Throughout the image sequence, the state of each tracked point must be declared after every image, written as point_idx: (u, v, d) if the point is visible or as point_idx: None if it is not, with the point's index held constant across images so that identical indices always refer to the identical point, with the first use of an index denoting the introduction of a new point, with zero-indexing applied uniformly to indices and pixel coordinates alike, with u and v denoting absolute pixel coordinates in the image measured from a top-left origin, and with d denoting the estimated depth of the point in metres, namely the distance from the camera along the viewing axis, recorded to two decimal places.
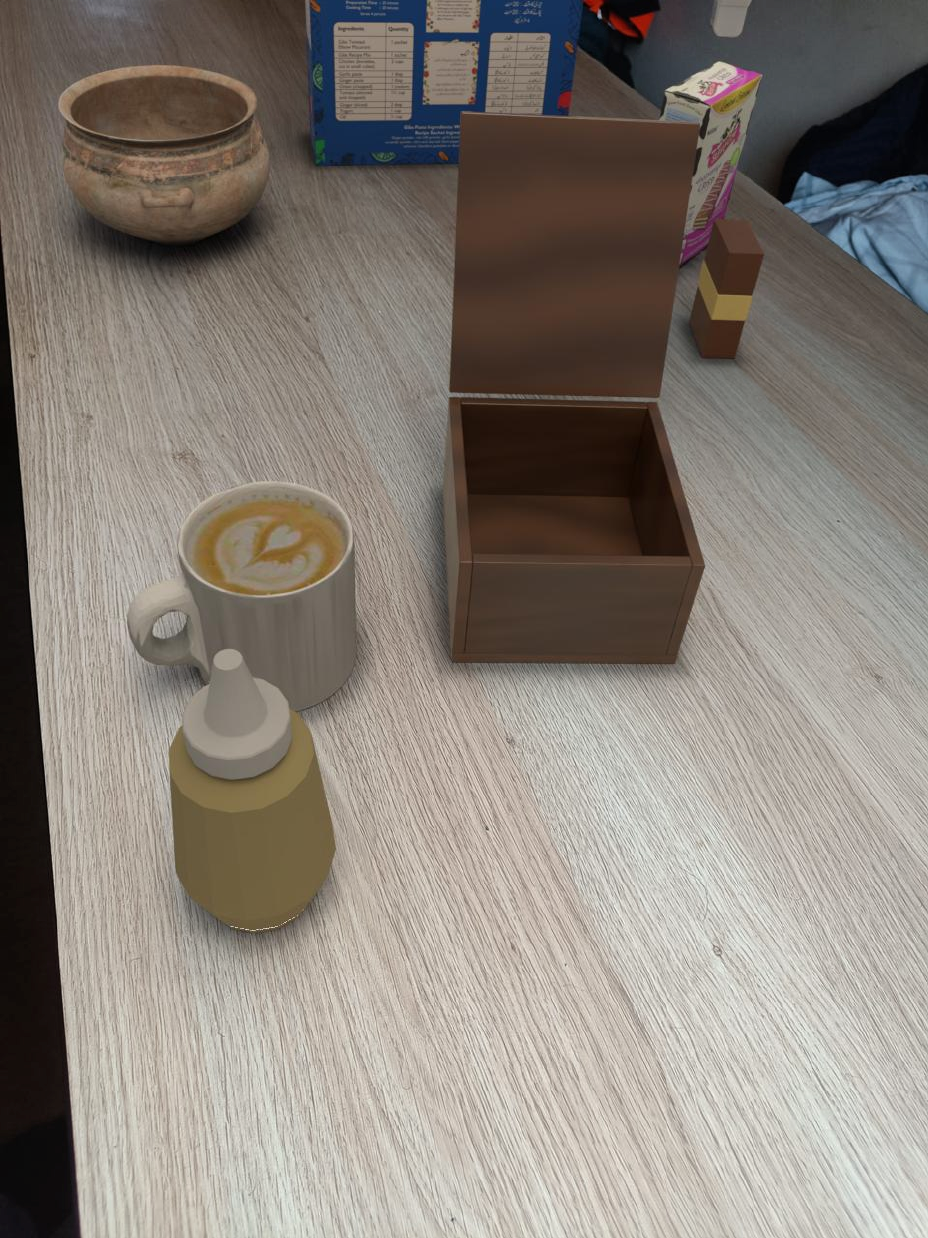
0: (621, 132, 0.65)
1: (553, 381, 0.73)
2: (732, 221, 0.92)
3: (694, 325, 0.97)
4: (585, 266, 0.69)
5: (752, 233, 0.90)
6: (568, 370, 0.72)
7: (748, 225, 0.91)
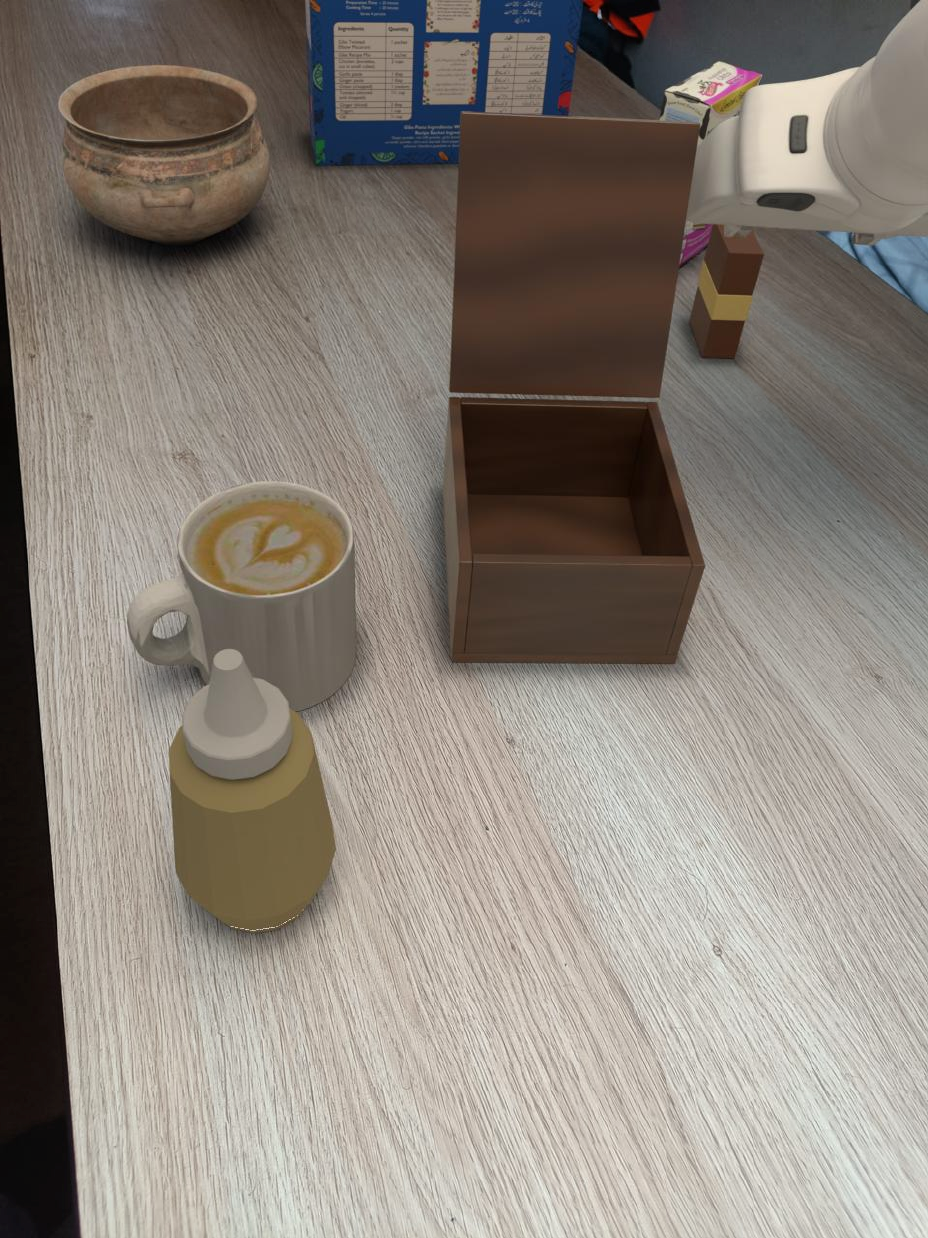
0: (621, 132, 0.65)
1: (553, 381, 0.73)
2: None
3: (694, 325, 0.97)
4: (585, 266, 0.69)
5: (752, 233, 0.90)
6: (568, 370, 0.72)
7: None
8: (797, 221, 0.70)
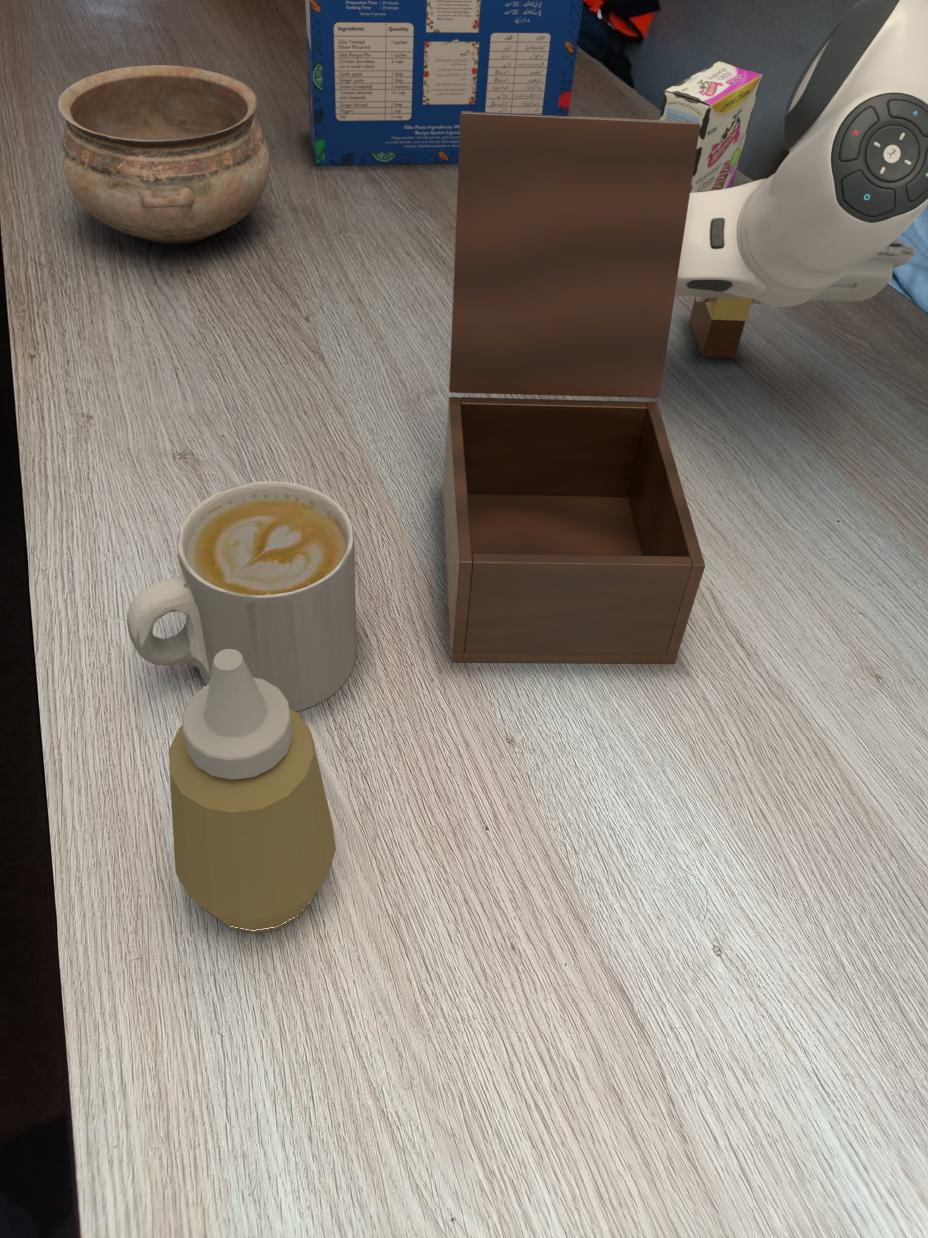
0: (621, 132, 0.65)
1: (553, 381, 0.73)
2: None
3: (695, 325, 0.97)
4: (585, 266, 0.69)
5: None
6: (568, 370, 0.72)
7: None
8: (724, 292, 0.86)
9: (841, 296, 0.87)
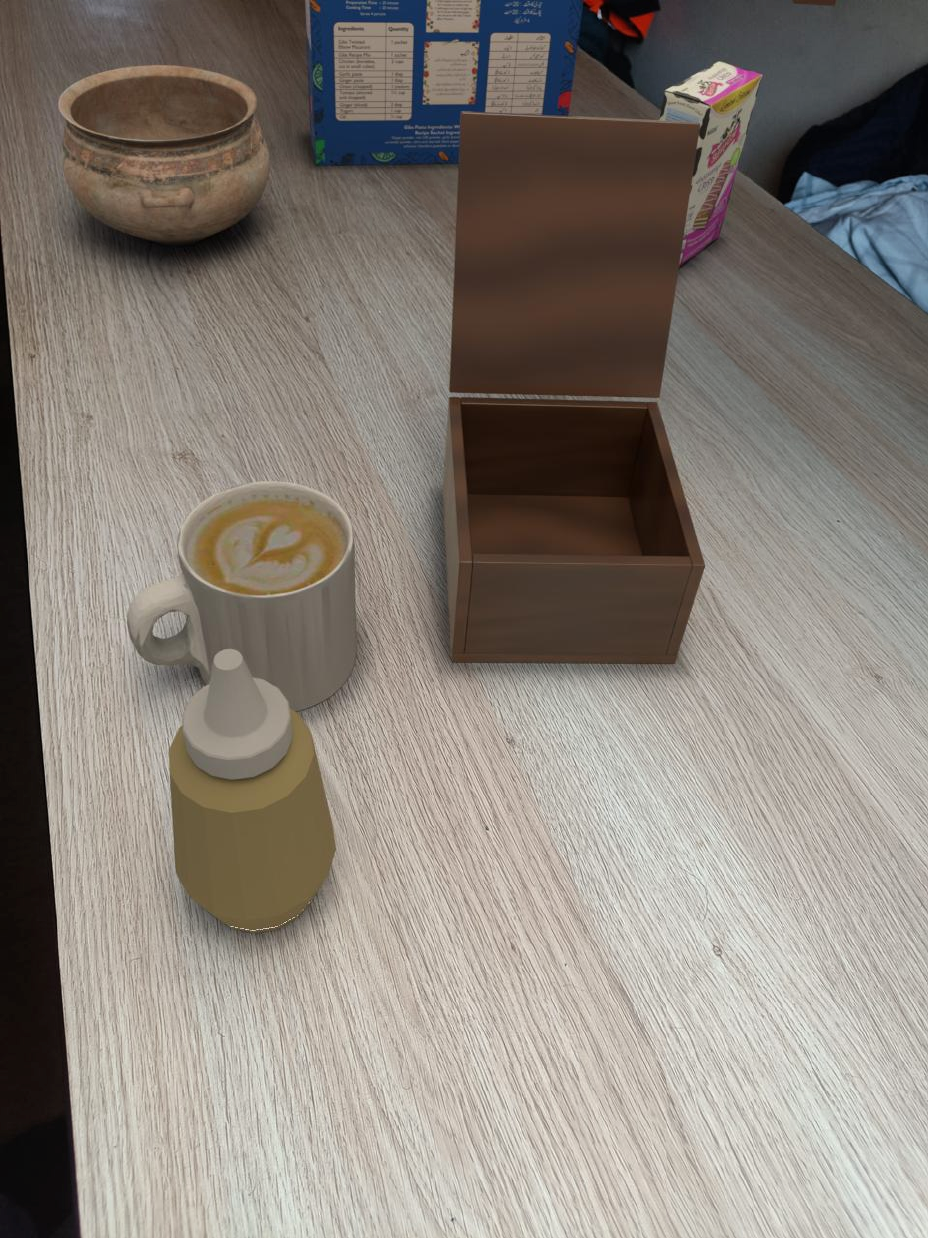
0: (621, 132, 0.65)
1: (553, 381, 0.73)
2: None
3: None
4: (585, 266, 0.69)
5: None
6: (568, 370, 0.72)
7: None
8: None
9: None
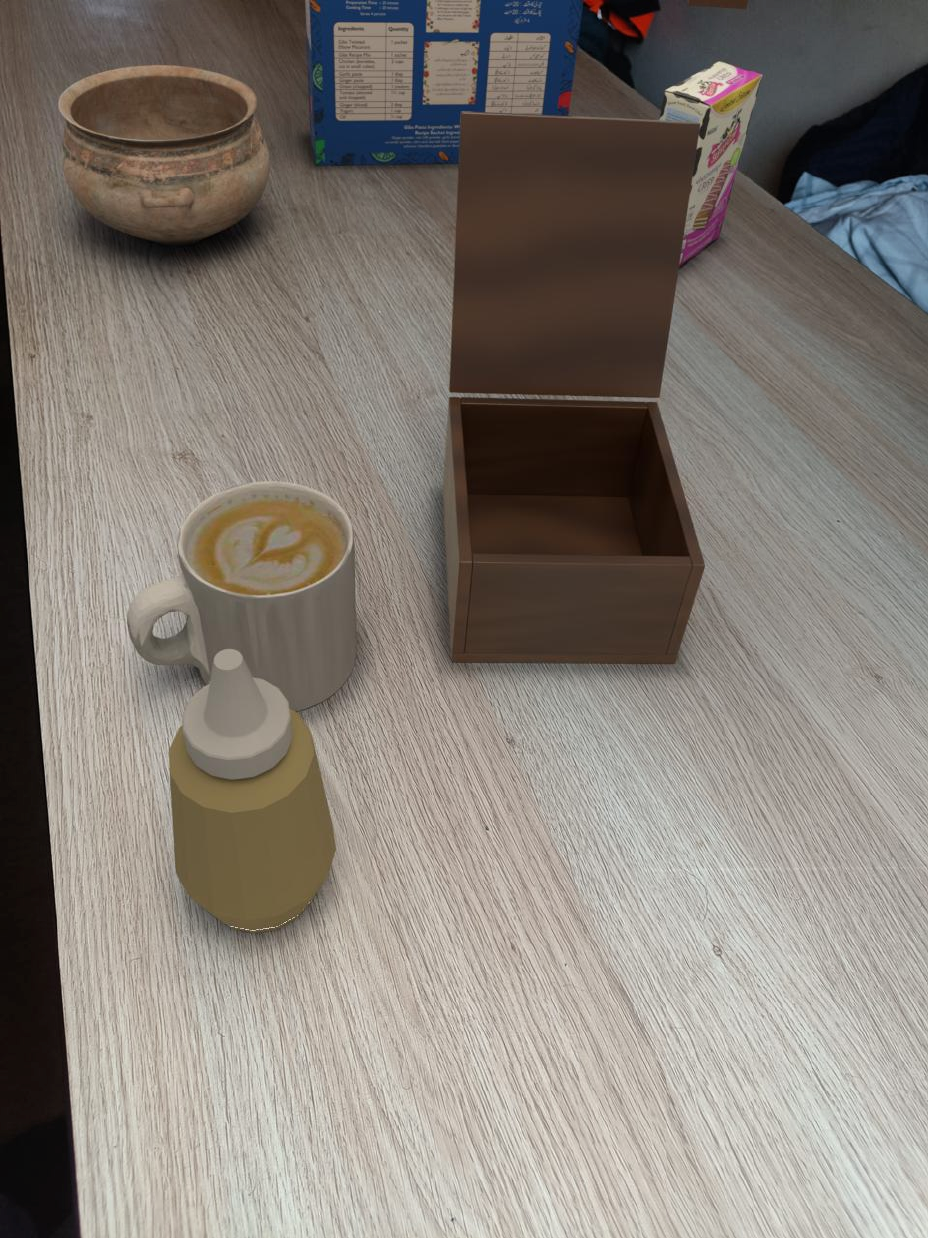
0: (621, 132, 0.65)
1: (553, 381, 0.73)
2: None
3: None
4: (585, 266, 0.69)
5: None
6: (568, 370, 0.72)
7: None
8: None
9: None
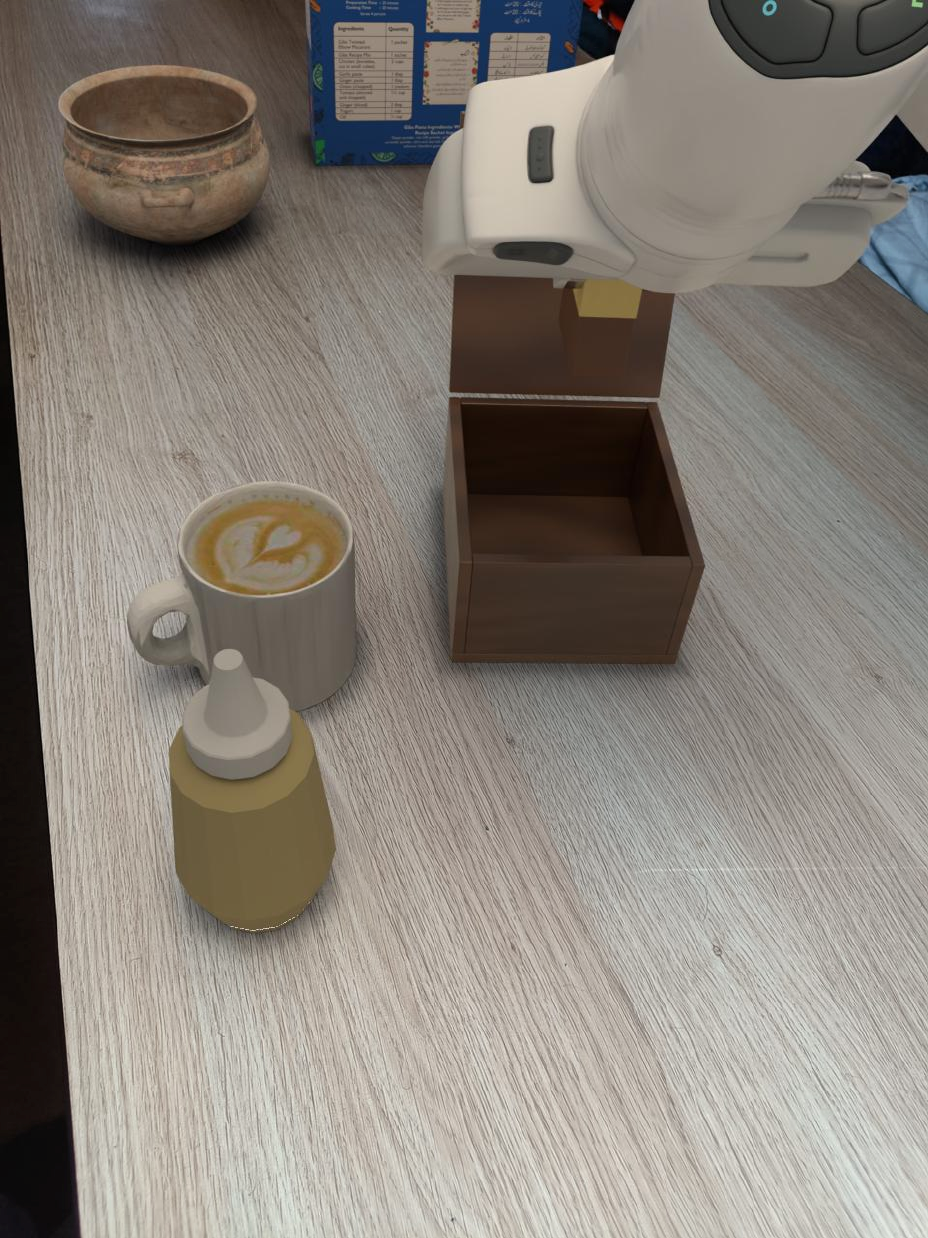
0: None
1: (553, 381, 0.73)
2: None
3: (563, 326, 0.61)
4: None
5: None
6: (568, 370, 0.72)
7: None
8: (583, 270, 0.50)
9: (785, 278, 0.51)
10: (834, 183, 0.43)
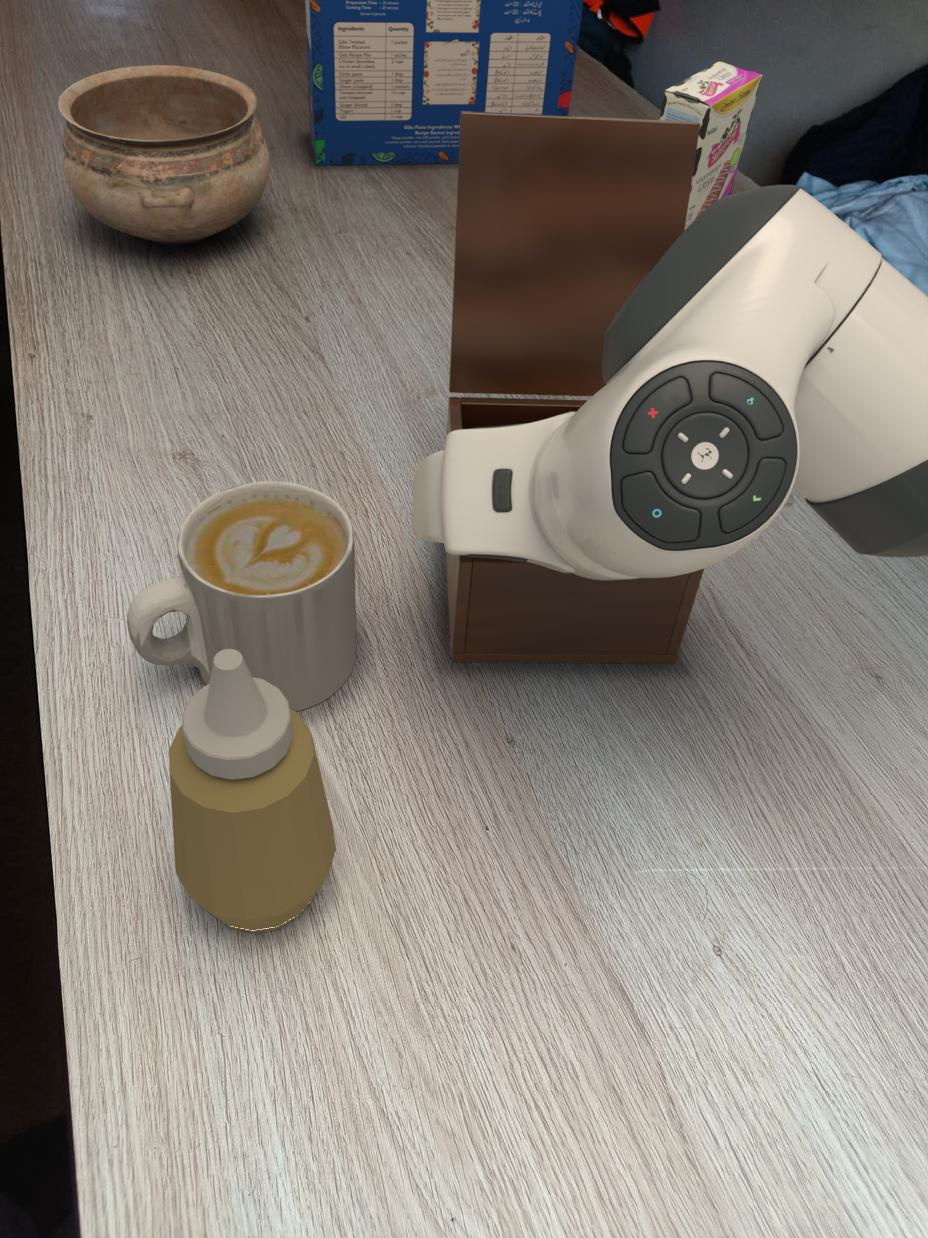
0: (621, 132, 0.65)
1: (553, 381, 0.73)
2: None
3: None
4: (585, 266, 0.69)
5: None
6: (568, 370, 0.72)
7: None
8: None
9: None
10: None
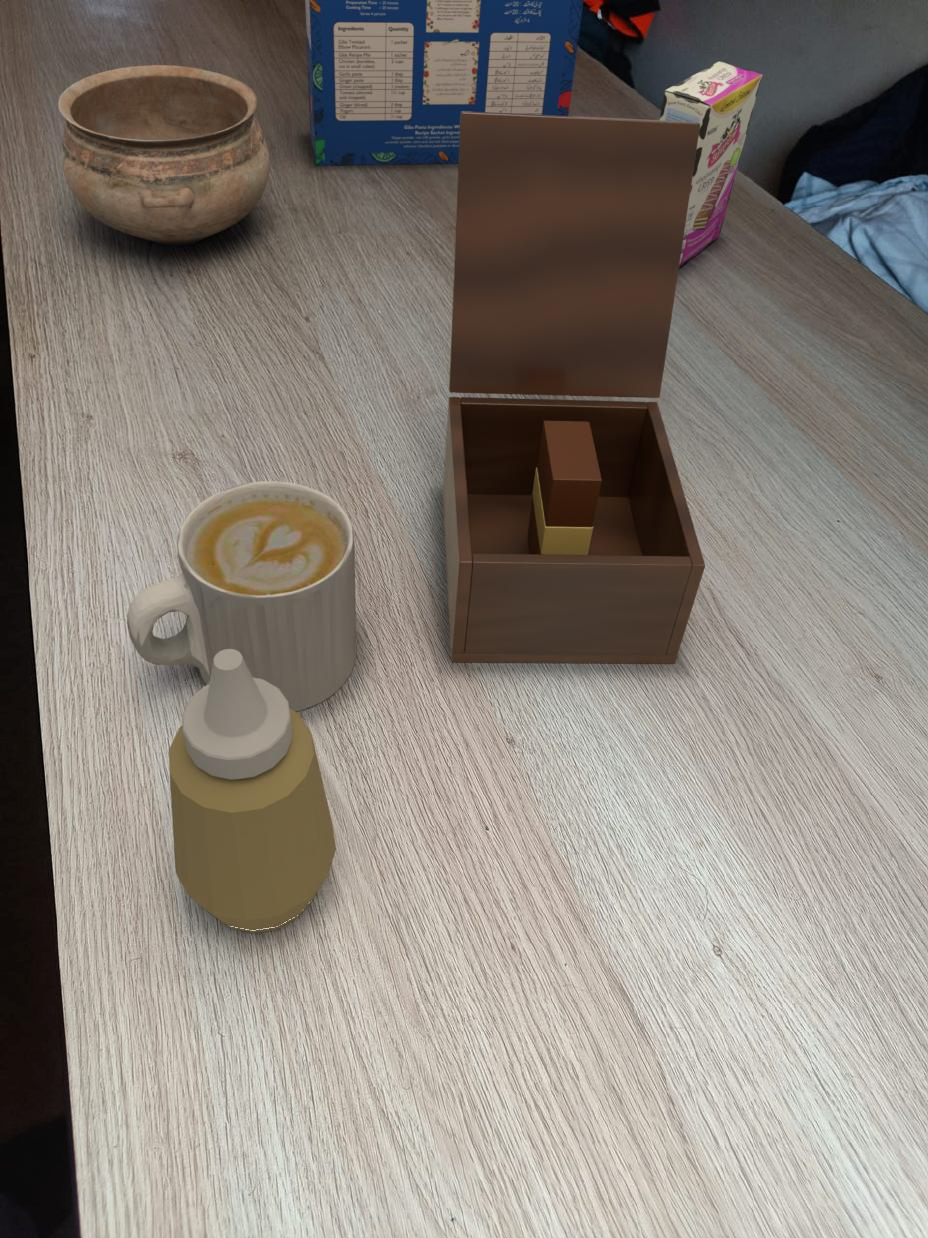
0: (621, 132, 0.65)
1: (553, 381, 0.73)
2: (568, 424, 0.68)
3: (530, 546, 0.74)
4: (585, 266, 0.69)
5: (591, 444, 0.67)
6: (568, 370, 0.72)
7: (588, 430, 0.68)
8: None
9: None
10: None
